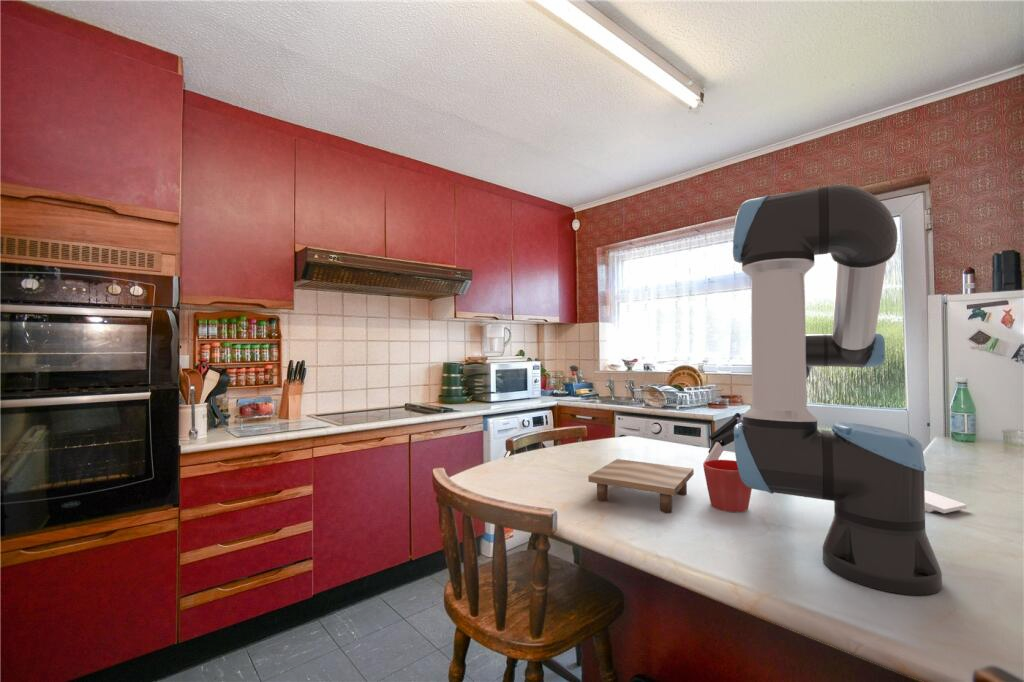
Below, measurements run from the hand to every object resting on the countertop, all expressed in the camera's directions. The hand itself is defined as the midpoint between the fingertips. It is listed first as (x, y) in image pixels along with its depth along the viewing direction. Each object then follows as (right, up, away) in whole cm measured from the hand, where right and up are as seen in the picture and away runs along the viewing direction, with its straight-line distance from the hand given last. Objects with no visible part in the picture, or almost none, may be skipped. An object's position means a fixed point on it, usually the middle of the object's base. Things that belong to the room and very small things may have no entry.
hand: (731, 472), depth 108 cm
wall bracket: (+41, -8, +6) cm, 42 cm away
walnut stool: (-19, -8, +6) cm, 21 cm away
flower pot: (-1, -8, -1) cm, 8 cm away
